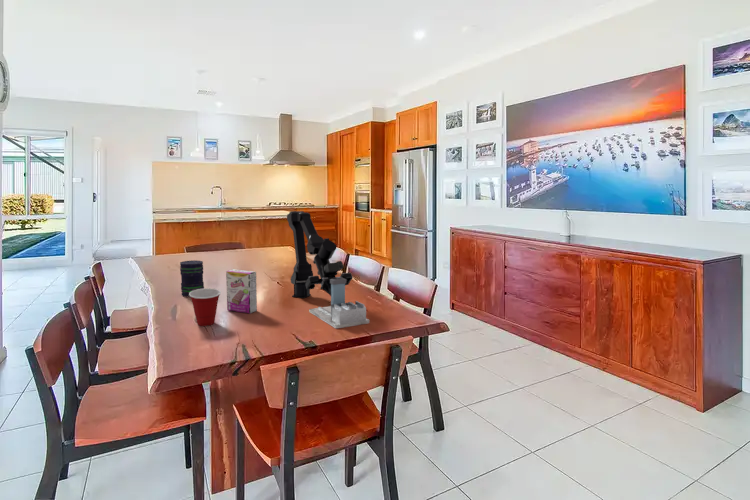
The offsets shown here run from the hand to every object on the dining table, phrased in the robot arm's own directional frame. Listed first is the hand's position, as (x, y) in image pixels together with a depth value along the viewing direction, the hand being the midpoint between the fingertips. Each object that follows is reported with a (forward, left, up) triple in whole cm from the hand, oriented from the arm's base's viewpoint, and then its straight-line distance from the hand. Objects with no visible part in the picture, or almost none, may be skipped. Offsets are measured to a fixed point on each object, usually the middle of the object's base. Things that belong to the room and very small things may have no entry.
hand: (335, 298), depth 171 cm
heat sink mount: (+2, -1, -7) cm, 7 cm away
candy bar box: (-37, -10, -7) cm, 39 cm away
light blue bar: (+3, -2, -5) cm, 7 cm away
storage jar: (-75, +3, -7) cm, 76 cm away
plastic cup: (-38, -29, -7) cm, 48 cm away
